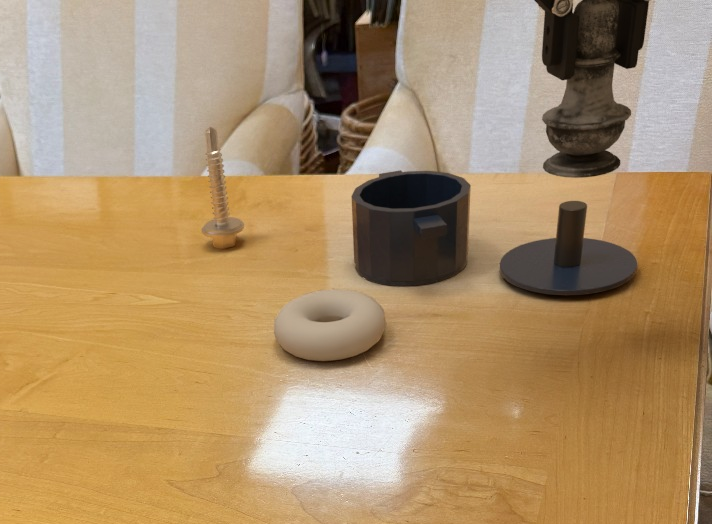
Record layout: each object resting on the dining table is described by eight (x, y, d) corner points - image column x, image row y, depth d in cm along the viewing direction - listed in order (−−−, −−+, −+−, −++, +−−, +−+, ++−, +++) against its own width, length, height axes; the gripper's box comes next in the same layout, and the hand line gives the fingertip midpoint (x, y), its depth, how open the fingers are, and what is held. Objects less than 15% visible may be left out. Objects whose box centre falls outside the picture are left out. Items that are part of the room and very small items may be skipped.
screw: (201, 254, 103) (207, 237, 106) (243, 251, 102) (248, 235, 105) (183, 135, 95) (191, 122, 99) (229, 131, 94) (235, 118, 98)
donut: (252, 349, 83) (333, 379, 76) (248, 314, 81) (331, 342, 74) (327, 308, 88) (410, 333, 81) (325, 274, 86) (409, 297, 79)
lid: (601, 240, 92) (610, 174, 88) (660, 288, 82) (672, 217, 78) (481, 259, 92) (485, 194, 88) (525, 310, 82) (531, 239, 78)
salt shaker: (588, 184, 63) (608, -9, 56) (521, 169, 67) (532, -13, 60) (642, 160, 65) (669, -30, 58) (574, 146, 70) (591, -32, 62)
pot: (441, 226, 100) (442, 156, 95) (491, 286, 87) (495, 209, 82) (340, 242, 100) (337, 173, 96) (374, 305, 87) (372, 228, 82)
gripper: (732, -295, 55) (681, 38, 66) (459, -246, 55) (454, 79, 66) (810, -311, 49) (739, 60, 60) (503, -255, 49) (489, 104, 60)
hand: (590, 67), depth 62 cm, fingers closed on salt shaker, 3 cm apart
